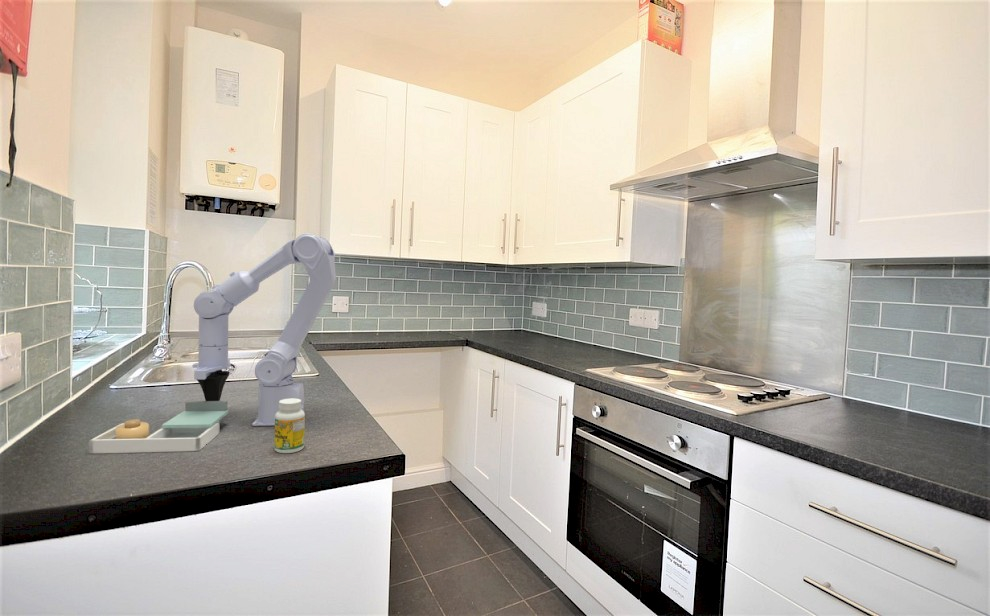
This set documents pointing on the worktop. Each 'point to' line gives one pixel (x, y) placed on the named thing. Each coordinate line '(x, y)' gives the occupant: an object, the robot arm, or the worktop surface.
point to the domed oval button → (132, 430)
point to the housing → (156, 440)
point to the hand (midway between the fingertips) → (212, 404)
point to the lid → (198, 414)
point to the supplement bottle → (289, 426)
